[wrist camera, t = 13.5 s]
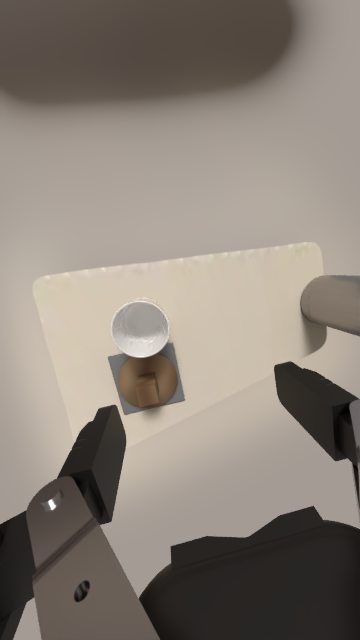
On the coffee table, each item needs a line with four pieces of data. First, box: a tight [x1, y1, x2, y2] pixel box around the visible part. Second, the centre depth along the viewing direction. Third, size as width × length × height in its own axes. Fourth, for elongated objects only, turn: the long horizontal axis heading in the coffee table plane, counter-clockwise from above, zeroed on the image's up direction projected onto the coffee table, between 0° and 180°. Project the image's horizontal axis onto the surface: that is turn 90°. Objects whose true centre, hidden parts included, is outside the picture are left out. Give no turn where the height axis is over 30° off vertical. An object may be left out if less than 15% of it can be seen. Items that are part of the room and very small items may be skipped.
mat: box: [108, 343, 185, 415], centre depth 41 cm, size 12×12×1 cm
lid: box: [118, 353, 178, 408], centre depth 38 cm, size 11×11×6 cm
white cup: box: [110, 297, 170, 358], centre depth 34 cm, size 8×8×10 cm
